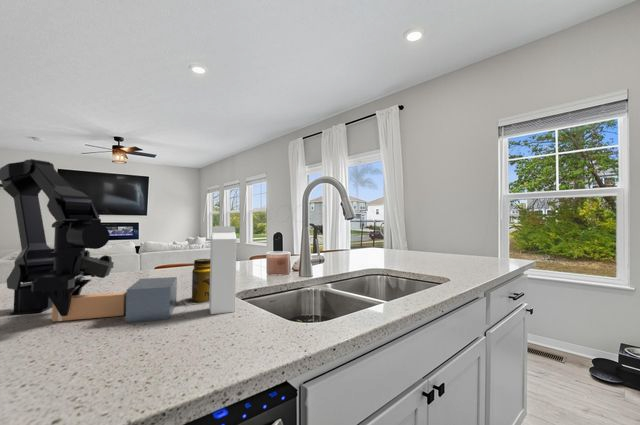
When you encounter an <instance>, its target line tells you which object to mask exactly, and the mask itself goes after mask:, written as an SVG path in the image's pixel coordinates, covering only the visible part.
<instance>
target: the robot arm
mask: <svg viewBox="0 0 640 425" xmlns="http://www.w3.org/2000/svg"><path fill="white" fill-rule="evenodd" d="M54 166H55V165H54V164H53V163H52V162H49V161H46V160H40V159H39V160H38V159H35V158H34V159H32V158H30V159H24V161H18V162H17V161H16V162H10V163H7V164H5V165H3V166H1V167H0V181H1V185H2V189H3V190H4V191H5V192H6V193H7V194H8V195H9V196H10V197H12V198H13V202H14V210H15V215H16V221H17V228H18V235H19V240H20V242H19V243H20V247H21V250H20V252H19V254H18V255H17V257H16V258H15V260H14V266H13V268H12V270H11V272H10V274H9V276H8V277H7V279H6V288H7V289H8V290H9V289H10V290H13V291H14V292H13V310H12V311H11V310H10V311H9V313H8V314H9V315H21V314H22V315H23V314H34V313H43V312H45V311H46V310H48V309H50V308H52V306H53V304H54V305H55V307H56V308H57V310H58V312H59V313H60V315H61V316H67V315H68V311H69V307H70V302H71V297H72V296H74V295H81V292H82V290H83V288H84V287H85V286H86V285H88V284H89V283H90V282H92V279H86V277H89V276H90V277H91V278H95V277H97V278H101V279H104V278H106V277H108V276H109V275H110V272H111V270H112V269H113V268H114V264H115V263H114V262H112V256H110V255H107V254H106V255H102V256H101V257H92V256H91V255H90V254H91V253H90V251H89V249H90V250H91V249H92V250H98V249H101V248H103V247H105V246H106V245H107V243H108V242H109V240H110V235H111V233H110V231H109V229H108V228H107V227H106V226H105V225H104V224H102V223H101V222H102V219H101V218H100V215H99V213H98V211H97V210H96V207H95V206H94V203H93V200H92V199H91V197H90V196H88V195H87V194H86V193H84V192H83V191H80V190H77V189H74V188H73V187H71V186H70V185H69V184H68V183H67V181H66V180H65V179H64V178H63V177H62V176H61V174H60V173H58V171H57V170H56V169H55V167H54ZM41 191H42V192H43V193H44V194H45V195H46V197H47V198H48V202H47V205H46V207H47V209H48V211H49V213H50V214H51V216H52V217H53V219H55V221H54V222H53V223H52V224H51V227H52V229H53V228H54V240H53V241H54V242H53V243H54V245H53V248H51V247H49V245H48V243H47V239H46V233H45V232H46V231H45V228H44V223H43V222H44V221H43V216H42V209H41V205H40V198H39V194H40V193H41ZM86 249H87V250H86Z"/></svg>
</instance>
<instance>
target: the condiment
mask: <svg viewBox="0 0 640 425" xmlns="http://www.w3.org/2000/svg"><path fill="white" fill-rule="evenodd" d="M193 264H194V265H193V269H192V276H191V278H192V279H191V297H190V298H187V297H185V298H181V300H182V301H183V303H184V304H185V306H191V305H197V304H208V303H209V301H210V258H199V259H195V260H194V261H193Z"/></svg>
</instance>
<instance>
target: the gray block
mask: <svg viewBox="0 0 640 425" xmlns="http://www.w3.org/2000/svg"><path fill="white" fill-rule="evenodd" d="M177 284H178V277H177V276H173V277H172V276H171V277H153V278H151V277H149V278H140V279H139V280H137V281H136V282H134V283H133V284H132V285H131V286H129V287H128V288H127V289H126V292H127V294H126V313H125V324H127V323H129V324H130V323H139V322H149V321H153V322H154V321H160V320H161V321H163V320H171V319H170V318H171V317H172V314H173V313H174V310H175V308H176V305H177V295H178V294H177V292H178V291H177V290H178V286H177Z"/></svg>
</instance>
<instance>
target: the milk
mask: <svg viewBox="0 0 640 425" xmlns="http://www.w3.org/2000/svg"><path fill="white" fill-rule="evenodd" d="M237 242H238V241H237V235H236V227H235V226H232V225H231V226H227V225H226V226H225V225H223V226H221V225H219V226H212V227H211V236H210V254H209V256H210V257H209V259H210V301H209V306H208V307H209V308H208V309H209V311H210V315H218V314H219V315H220V314H227V313H234V312H236V289H237V288H236V286H237V280H236V279H237V278H236V277H237Z"/></svg>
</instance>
